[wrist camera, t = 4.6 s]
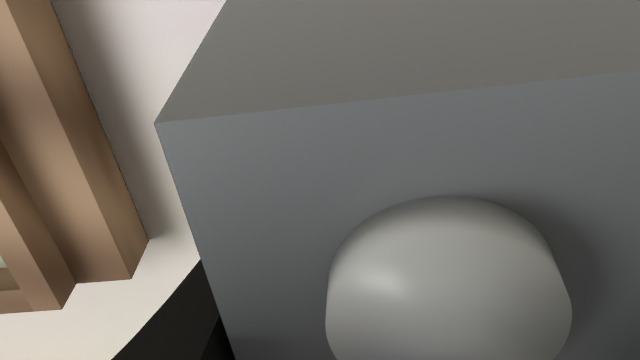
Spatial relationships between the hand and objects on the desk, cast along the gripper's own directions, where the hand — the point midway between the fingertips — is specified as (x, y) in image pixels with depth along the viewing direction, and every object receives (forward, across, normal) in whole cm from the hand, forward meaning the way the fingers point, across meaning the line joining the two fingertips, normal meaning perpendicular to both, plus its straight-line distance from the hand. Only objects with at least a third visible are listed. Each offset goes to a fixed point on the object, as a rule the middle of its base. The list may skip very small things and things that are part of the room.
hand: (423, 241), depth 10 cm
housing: (+2, 0, 0) cm, 2 cm away
